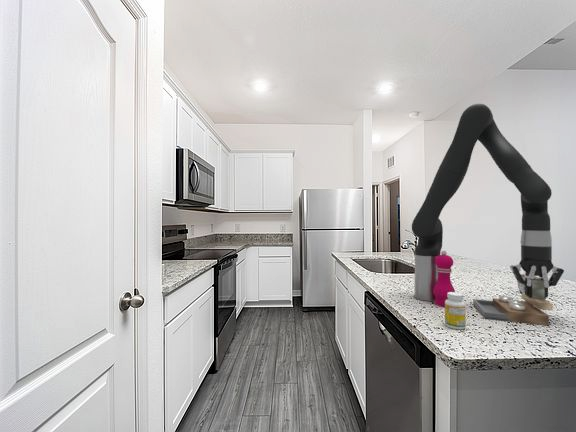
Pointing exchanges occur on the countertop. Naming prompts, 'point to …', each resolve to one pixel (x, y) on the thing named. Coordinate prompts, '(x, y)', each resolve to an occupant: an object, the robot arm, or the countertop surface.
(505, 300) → the disc
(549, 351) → the countertop surface
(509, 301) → the disc
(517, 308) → the disc
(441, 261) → the pepper mill
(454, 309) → the supplement bottle
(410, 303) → the countertop surface
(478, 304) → the tray
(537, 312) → the walnut board
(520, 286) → the tin
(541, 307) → the scraper
